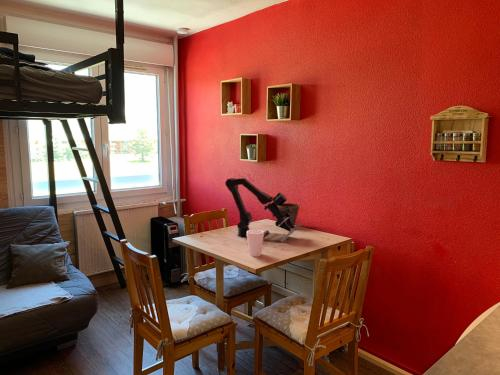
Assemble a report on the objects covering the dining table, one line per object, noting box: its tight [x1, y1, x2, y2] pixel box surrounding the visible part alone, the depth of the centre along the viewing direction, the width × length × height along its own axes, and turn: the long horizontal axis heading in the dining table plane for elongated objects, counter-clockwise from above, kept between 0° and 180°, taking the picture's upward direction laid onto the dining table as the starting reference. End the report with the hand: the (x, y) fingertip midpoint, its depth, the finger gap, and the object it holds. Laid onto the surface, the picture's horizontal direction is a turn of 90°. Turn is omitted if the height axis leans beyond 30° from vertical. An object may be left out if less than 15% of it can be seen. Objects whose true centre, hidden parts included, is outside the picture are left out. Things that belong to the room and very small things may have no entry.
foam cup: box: [246, 229, 265, 257], centre depth 207 cm, size 10×9×13 cm
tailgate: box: [280, 221, 303, 243], centre depth 236 cm, size 2×16×12 cm
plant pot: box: [278, 202, 300, 229], centre depth 271 cm, size 15×15×16 cm
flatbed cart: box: [263, 229, 287, 244], centre depth 240 cm, size 13×16×3 cm
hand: (292, 229), depth 236 cm, fingers open, 9 cm apart
